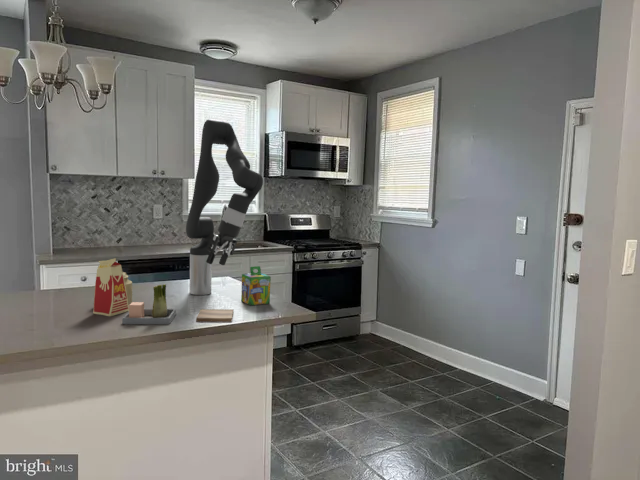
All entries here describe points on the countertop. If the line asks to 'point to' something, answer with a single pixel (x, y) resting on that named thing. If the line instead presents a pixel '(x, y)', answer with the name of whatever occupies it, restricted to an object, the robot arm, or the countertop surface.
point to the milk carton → (110, 289)
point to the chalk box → (255, 287)
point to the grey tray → (150, 320)
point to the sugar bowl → (128, 288)
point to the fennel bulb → (159, 302)
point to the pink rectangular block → (136, 310)
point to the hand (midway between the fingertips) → (215, 264)
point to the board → (215, 315)
